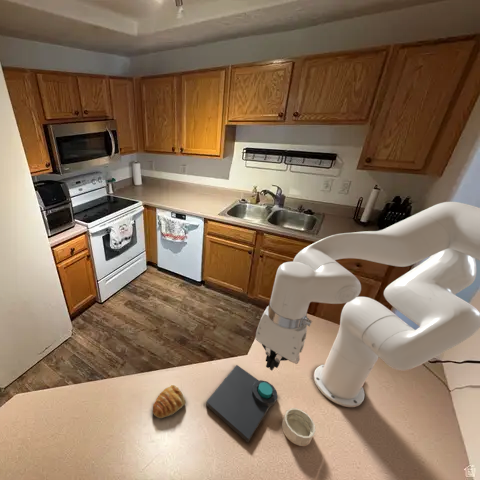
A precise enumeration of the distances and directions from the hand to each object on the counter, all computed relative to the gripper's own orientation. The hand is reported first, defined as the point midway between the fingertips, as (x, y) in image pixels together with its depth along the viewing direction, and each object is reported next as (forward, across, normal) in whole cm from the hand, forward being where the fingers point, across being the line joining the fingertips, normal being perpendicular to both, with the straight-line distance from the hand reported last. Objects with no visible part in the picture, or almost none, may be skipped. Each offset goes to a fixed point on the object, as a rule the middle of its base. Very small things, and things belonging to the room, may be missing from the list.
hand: (271, 365), depth 67 cm
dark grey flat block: (+15, +4, +5) cm, 16 cm away
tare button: (+12, 0, 0) cm, 12 cm away
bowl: (+15, -10, +2) cm, 18 cm away
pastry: (+15, +18, +20) cm, 31 cm away
